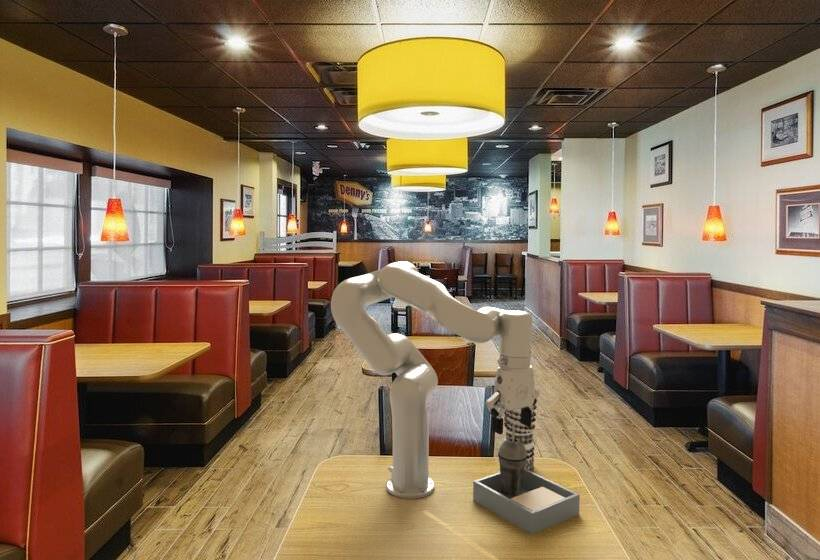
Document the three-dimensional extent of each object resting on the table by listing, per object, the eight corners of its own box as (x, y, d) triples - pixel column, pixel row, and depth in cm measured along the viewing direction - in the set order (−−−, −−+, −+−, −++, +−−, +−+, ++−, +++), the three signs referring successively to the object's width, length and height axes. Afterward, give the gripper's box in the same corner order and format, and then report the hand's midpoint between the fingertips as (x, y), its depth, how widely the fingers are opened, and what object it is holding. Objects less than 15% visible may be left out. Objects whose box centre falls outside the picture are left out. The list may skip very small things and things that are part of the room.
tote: (473, 503, 151) (473, 481, 151) (518, 487, 160) (519, 465, 160) (531, 539, 135) (532, 513, 134) (578, 518, 144) (579, 494, 143)
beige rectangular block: (510, 514, 144) (510, 498, 144) (542, 501, 150) (542, 486, 150) (535, 528, 137) (535, 512, 137) (567, 515, 144) (567, 499, 143)
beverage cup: (525, 494, 154) (529, 419, 152) (525, 507, 147) (528, 428, 145) (497, 491, 156) (500, 416, 154) (495, 504, 149) (498, 425, 146)
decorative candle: (525, 461, 177) (527, 378, 174) (541, 474, 168) (543, 387, 166) (497, 464, 175) (498, 380, 172) (511, 478, 166) (513, 390, 163)
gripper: (499, 369, 139) (496, 440, 141) (550, 360, 149) (547, 426, 151) (477, 362, 145) (475, 430, 147) (528, 353, 155) (525, 418, 157)
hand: (511, 428), depth 149 cm, fingers open, 9 cm apart
